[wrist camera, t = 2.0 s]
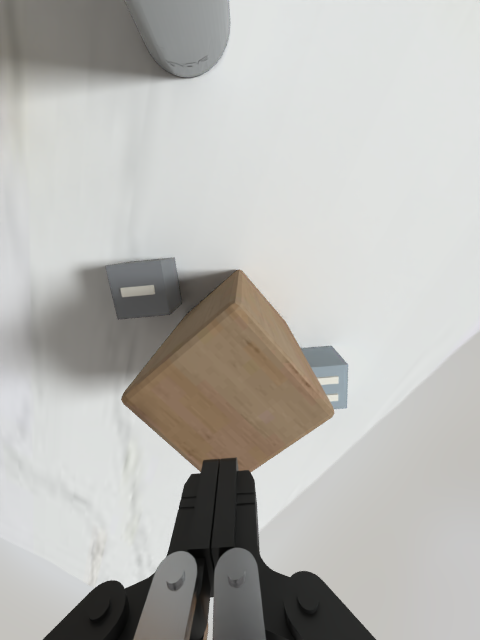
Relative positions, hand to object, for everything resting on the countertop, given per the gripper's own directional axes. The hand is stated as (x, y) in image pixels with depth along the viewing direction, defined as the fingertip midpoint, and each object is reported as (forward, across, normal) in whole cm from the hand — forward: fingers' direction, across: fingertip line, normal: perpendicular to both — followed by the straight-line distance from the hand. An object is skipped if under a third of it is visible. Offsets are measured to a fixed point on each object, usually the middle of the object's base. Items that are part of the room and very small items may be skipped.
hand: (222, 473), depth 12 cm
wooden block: (+25, 0, 0) cm, 25 cm away
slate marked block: (+25, -10, +8) cm, 28 cm away
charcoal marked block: (+25, +10, -6) cm, 27 cm away
